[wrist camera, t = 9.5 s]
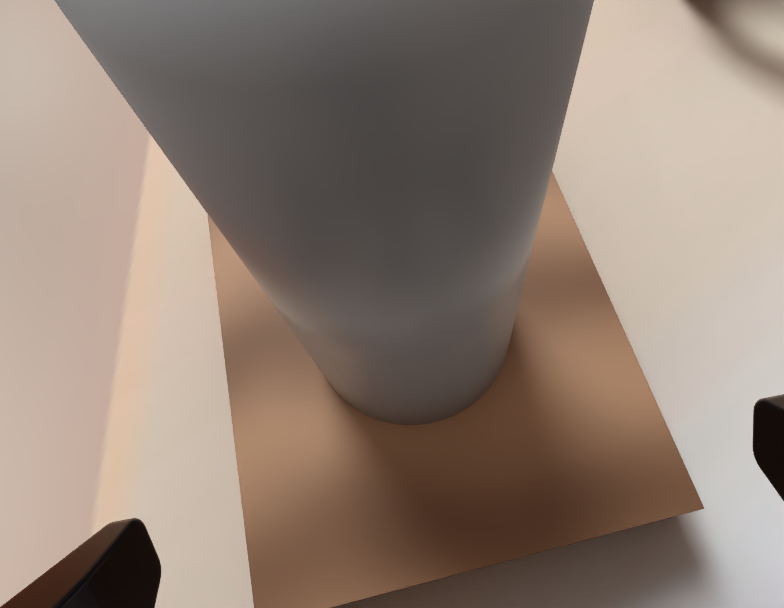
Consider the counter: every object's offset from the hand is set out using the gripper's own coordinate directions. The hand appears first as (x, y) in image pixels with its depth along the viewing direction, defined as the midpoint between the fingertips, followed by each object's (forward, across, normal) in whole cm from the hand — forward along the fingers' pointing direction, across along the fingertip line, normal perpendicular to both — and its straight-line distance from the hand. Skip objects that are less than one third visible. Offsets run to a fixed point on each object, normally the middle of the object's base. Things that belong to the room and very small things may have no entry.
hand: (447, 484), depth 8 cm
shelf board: (+11, 0, +3) cm, 11 cm away
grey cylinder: (+10, 0, +1) cm, 10 cm away
